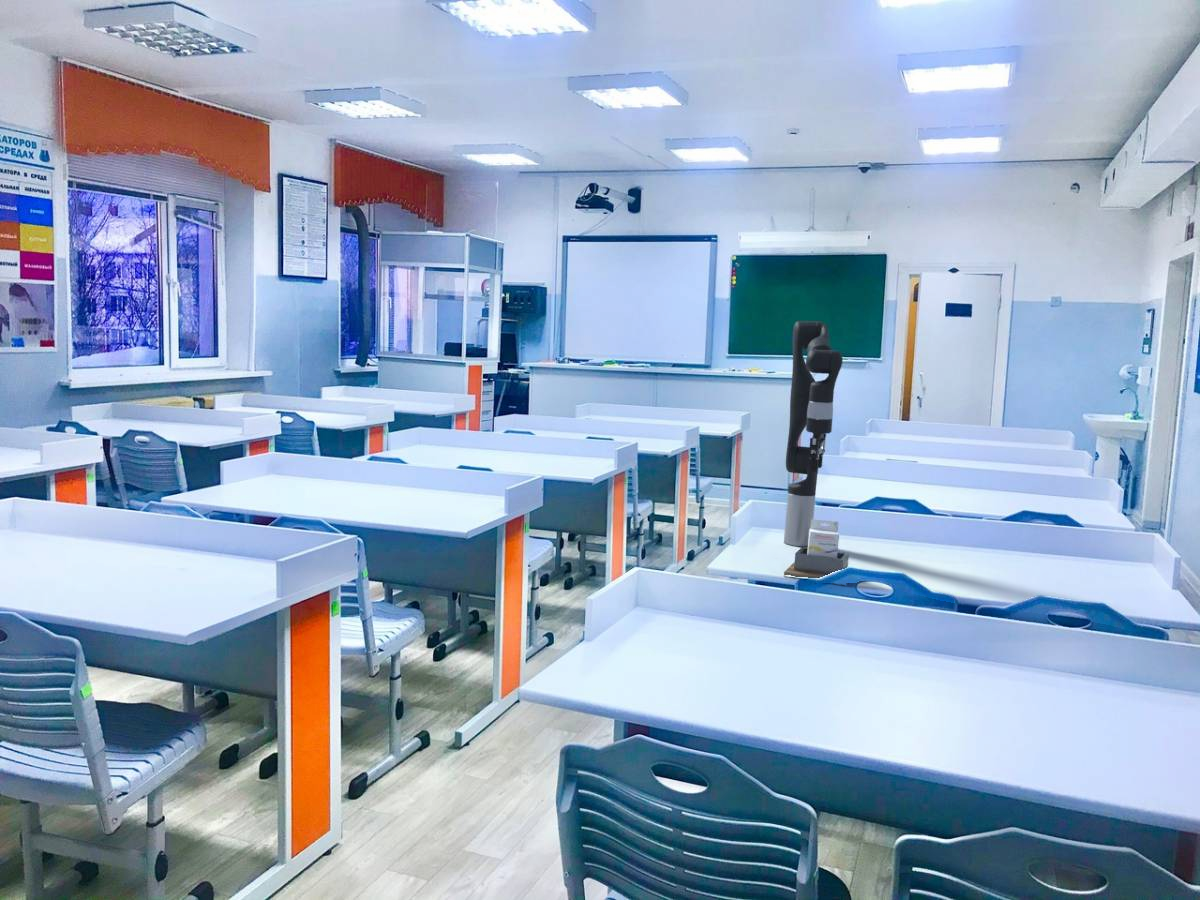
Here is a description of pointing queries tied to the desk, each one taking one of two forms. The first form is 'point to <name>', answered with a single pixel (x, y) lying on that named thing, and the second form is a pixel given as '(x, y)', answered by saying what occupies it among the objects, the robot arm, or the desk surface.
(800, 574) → the base board
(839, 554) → the sleeve
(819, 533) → the ink cartridge box
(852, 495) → the desk surface
